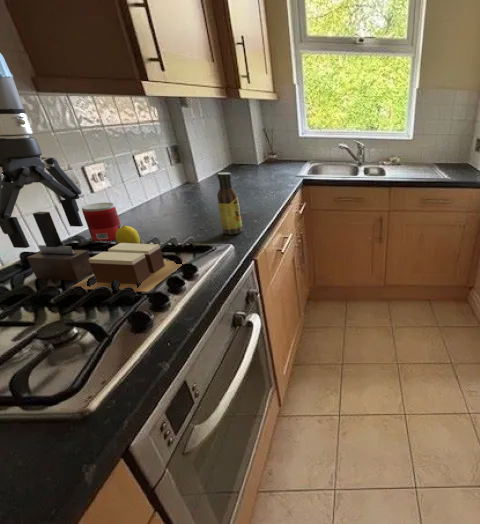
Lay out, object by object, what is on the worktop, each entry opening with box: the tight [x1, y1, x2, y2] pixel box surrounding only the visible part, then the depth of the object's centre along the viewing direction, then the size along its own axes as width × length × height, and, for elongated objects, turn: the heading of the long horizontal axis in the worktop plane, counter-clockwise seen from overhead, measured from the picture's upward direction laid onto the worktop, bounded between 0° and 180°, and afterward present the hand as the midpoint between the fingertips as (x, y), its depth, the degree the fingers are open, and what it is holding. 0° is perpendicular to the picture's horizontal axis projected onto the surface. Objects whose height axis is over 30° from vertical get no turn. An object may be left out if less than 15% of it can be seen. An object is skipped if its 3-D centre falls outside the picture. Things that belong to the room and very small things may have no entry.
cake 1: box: [89, 251, 151, 284], centre depth 77 cm, size 10×4×6 cm, turn 88°
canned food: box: [81, 202, 122, 242], centre depth 102 cm, size 8×8×11 cm
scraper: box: [32, 211, 74, 256], centre depth 77 cm, size 8×2×16 cm, turn 87°
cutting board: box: [69, 260, 187, 293], centre depth 81 cm, size 18×16×2 cm
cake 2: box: [107, 243, 165, 273], centre depth 82 cm, size 10×4×6 cm, turn 87°
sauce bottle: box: [216, 171, 243, 236], centre depth 109 cm, size 6×6×20 cm
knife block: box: [26, 249, 93, 282], centre depth 79 cm, size 10×5×7 cm, turn 87°
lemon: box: [115, 224, 141, 244], centre depth 95 cm, size 6×6×8 cm
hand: (51, 235), depth 76 cm, fingers open, 13 cm apart
